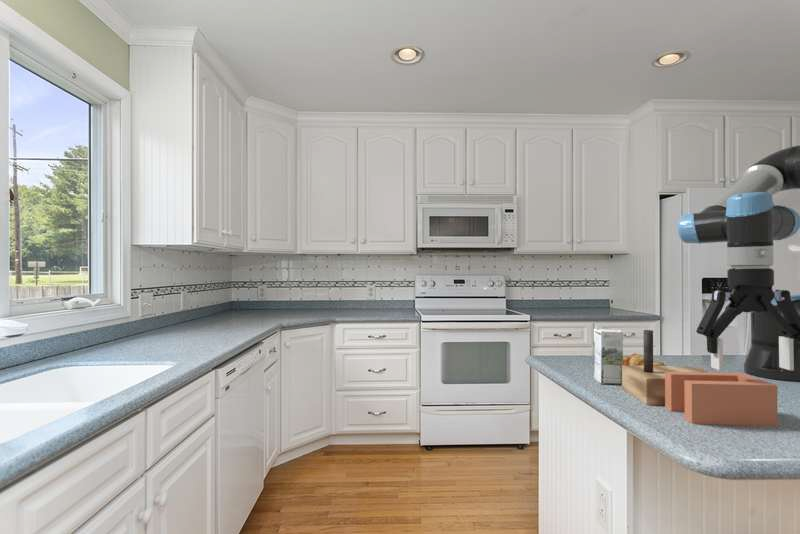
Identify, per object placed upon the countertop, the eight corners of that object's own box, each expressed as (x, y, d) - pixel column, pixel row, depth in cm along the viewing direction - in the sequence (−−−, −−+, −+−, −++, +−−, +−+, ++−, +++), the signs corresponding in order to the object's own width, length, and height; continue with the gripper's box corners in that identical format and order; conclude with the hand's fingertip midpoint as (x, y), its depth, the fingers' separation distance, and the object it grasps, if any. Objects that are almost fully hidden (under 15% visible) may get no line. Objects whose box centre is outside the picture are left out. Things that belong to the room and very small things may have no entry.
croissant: (686, 397, 114) (693, 369, 116) (670, 384, 109) (678, 355, 111) (611, 378, 132) (618, 354, 134) (594, 367, 127) (602, 342, 129)
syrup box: (614, 379, 119) (614, 327, 119) (623, 385, 113) (623, 330, 113) (593, 378, 120) (593, 327, 120) (601, 384, 114) (601, 330, 114)
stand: (695, 390, 108) (695, 327, 108) (730, 406, 95) (730, 335, 95) (621, 388, 110) (621, 326, 110) (646, 404, 97) (646, 334, 97)
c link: (741, 409, 94) (741, 373, 94) (777, 426, 84) (777, 385, 84) (665, 407, 95) (665, 371, 95) (691, 423, 85) (691, 383, 85)
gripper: (697, 268, 86) (699, 373, 87) (831, 266, 84) (832, 373, 84) (677, 268, 94) (678, 364, 94) (799, 266, 92) (800, 364, 92)
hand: (751, 368), depth 89 cm, fingers open, 13 cm apart
